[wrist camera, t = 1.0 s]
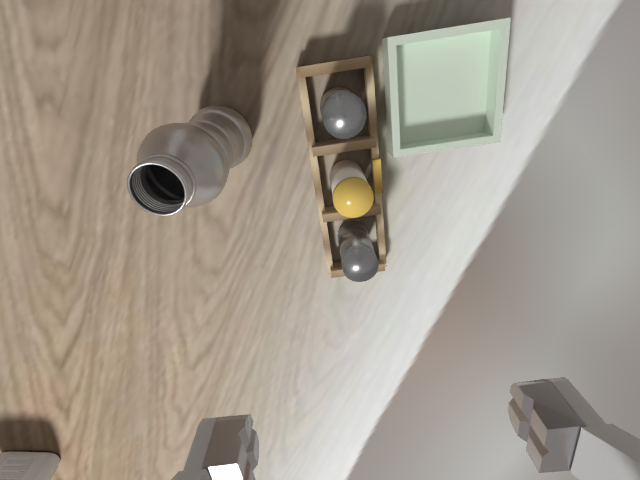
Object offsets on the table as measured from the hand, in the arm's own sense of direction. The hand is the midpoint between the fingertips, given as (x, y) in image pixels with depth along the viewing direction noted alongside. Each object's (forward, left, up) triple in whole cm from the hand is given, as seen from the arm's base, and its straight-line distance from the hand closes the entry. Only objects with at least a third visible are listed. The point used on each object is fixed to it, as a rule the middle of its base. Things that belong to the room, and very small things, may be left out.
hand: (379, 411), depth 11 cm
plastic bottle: (-4, -11, -34) cm, 36 cm away
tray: (-5, +13, -34) cm, 37 cm away
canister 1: (-5, +2, -34) cm, 35 cm away
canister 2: (+11, +2, -34) cm, 36 cm away
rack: (+3, +2, -34) cm, 34 cm away
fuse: (+3, +2, -34) cm, 34 cm away
